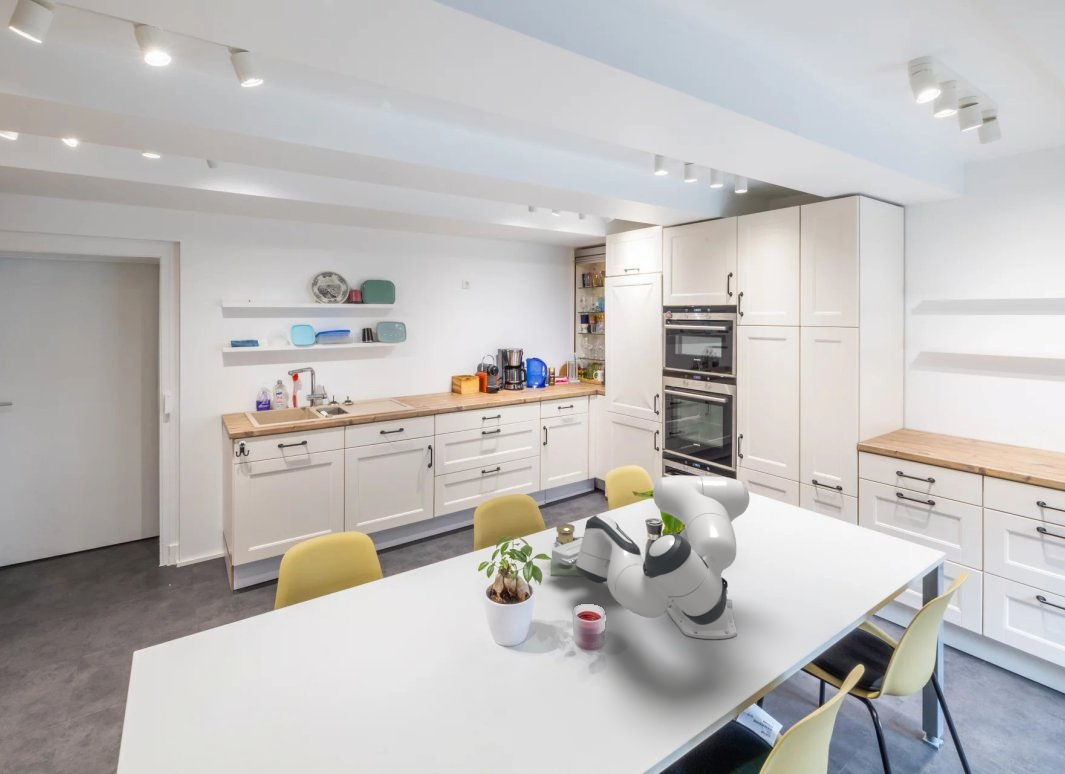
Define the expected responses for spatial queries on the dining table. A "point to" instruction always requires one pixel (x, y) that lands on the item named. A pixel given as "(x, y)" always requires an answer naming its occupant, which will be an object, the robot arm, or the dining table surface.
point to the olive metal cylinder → (565, 533)
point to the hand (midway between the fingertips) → (563, 541)
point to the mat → (563, 569)
